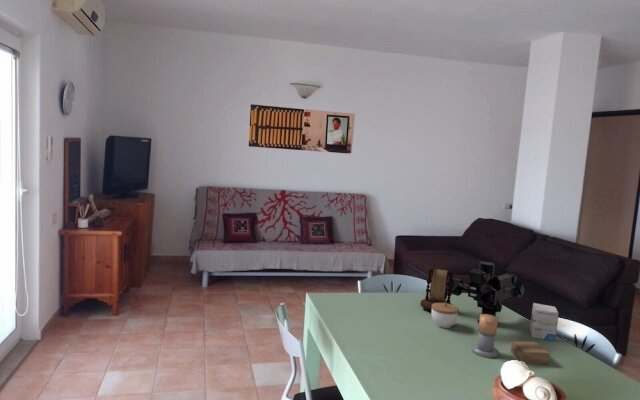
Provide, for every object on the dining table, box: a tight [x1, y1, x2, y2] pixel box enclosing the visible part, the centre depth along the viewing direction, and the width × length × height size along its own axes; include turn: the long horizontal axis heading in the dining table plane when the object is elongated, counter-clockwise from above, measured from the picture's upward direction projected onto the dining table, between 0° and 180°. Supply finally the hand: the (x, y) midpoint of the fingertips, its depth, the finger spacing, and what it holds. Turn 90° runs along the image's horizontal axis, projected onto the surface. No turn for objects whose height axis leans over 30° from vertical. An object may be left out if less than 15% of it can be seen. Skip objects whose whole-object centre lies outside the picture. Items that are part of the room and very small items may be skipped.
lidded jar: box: [430, 303, 460, 329], centre depth 186 cm, size 11×11×9 cm
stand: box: [510, 340, 551, 365], centre depth 160 cm, size 9×9×4 cm
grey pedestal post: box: [471, 330, 500, 359], centre depth 162 cm, size 9×9×8 cm
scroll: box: [420, 264, 454, 311], centre depth 204 cm, size 15×15×20 cm
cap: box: [478, 314, 499, 335], centre depth 161 cm, size 8×6×5 cm
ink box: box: [529, 302, 559, 342], centre depth 183 cm, size 9×8×12 cm
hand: (462, 295), depth 173 cm, fingers open, 9 cm apart
